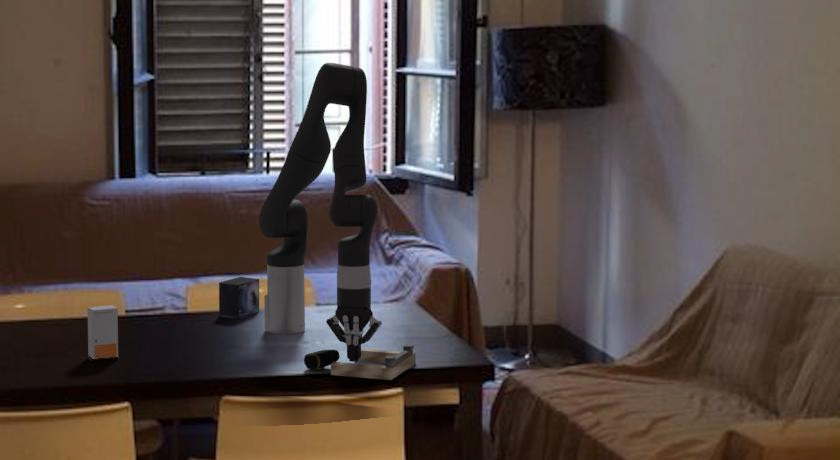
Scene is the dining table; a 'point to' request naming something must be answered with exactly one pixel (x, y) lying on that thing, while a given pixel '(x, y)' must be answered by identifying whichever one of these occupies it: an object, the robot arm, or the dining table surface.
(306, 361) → the tape measure
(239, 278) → the small box
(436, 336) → the dining table surface
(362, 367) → the tan piece
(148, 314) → the dining table surface
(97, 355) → the skincare box
